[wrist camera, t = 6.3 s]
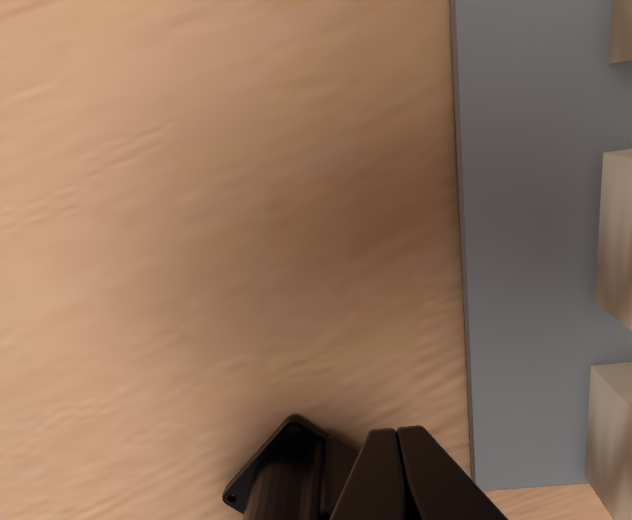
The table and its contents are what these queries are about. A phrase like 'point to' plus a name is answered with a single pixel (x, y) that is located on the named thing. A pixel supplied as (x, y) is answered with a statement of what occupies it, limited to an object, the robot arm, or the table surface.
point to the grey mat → (534, 227)
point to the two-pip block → (621, 31)
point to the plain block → (615, 237)
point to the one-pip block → (610, 437)
